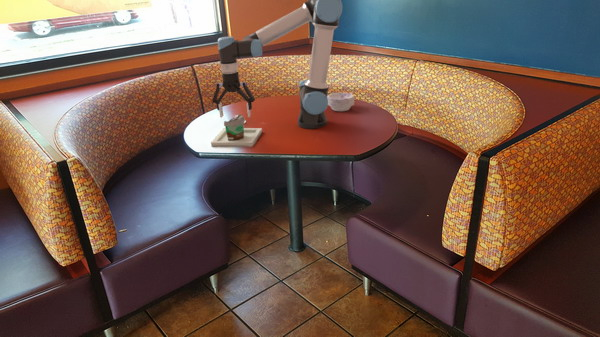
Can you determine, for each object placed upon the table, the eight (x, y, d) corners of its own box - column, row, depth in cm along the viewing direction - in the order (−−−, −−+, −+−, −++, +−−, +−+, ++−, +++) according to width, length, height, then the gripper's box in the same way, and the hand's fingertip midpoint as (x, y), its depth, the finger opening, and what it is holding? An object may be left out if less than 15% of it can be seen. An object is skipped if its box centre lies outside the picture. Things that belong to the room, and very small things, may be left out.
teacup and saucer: (241, 126, 239) (240, 118, 237) (227, 125, 242) (227, 117, 240) (248, 121, 246) (247, 113, 245) (235, 120, 249) (234, 113, 247)
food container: (236, 143, 213) (234, 123, 209) (226, 141, 216) (223, 121, 212) (251, 134, 223) (249, 115, 218) (241, 133, 225) (239, 114, 221)
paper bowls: (354, 105, 261) (354, 91, 258) (353, 113, 248) (353, 99, 244) (328, 105, 264) (328, 92, 260) (326, 113, 250) (325, 99, 247)
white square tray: (262, 131, 227) (261, 128, 226) (252, 146, 209) (252, 142, 208) (224, 131, 230) (223, 128, 230) (211, 146, 212) (210, 142, 212)
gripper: (201, 74, 205) (208, 119, 214) (254, 73, 201) (259, 118, 210) (206, 71, 212) (213, 114, 221) (258, 69, 208) (262, 113, 217)
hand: (235, 116), depth 215 cm, fingers open, 13 cm apart
